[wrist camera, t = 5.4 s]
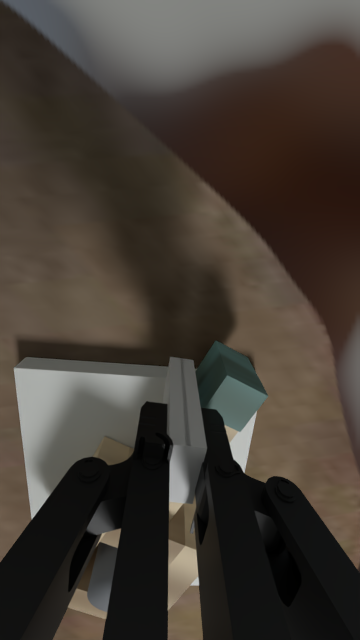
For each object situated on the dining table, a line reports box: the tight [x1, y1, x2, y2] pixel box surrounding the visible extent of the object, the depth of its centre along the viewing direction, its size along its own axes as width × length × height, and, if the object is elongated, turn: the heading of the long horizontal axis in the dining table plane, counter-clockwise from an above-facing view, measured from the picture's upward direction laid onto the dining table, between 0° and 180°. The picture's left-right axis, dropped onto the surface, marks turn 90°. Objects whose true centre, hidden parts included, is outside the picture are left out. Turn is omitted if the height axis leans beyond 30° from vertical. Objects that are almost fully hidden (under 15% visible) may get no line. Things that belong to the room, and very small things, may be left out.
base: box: [14, 357, 260, 612], centre depth 19 cm, size 20×16×8 cm
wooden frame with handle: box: [68, 341, 268, 619], centre depth 17 cm, size 18×8×5 cm, turn 150°
